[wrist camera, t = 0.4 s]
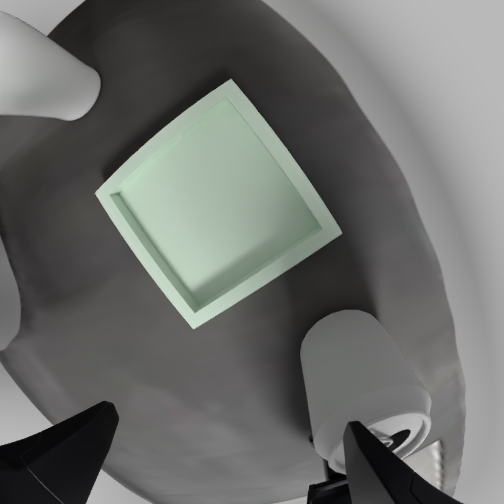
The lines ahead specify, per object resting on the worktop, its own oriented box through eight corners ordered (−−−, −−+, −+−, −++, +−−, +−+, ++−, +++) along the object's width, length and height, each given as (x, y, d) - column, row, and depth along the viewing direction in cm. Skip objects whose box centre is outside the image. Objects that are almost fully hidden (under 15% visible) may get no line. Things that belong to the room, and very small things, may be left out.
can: (346, 384, 23) (378, 484, 11) (282, 358, 23) (288, 474, 11) (395, 325, 21) (462, 414, 10) (332, 289, 21) (387, 391, 9)
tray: (335, 228, 20) (342, 232, 18) (199, 317, 22) (193, 329, 20) (234, 88, 18) (231, 78, 16) (108, 191, 20) (94, 193, 18)
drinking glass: (87, 138, 19) (-58, 121, 4) (47, 119, 18) (-72, 105, 4) (122, 69, 17) (2, -4, 3) (77, 59, 17) (-29, 11, 2)
